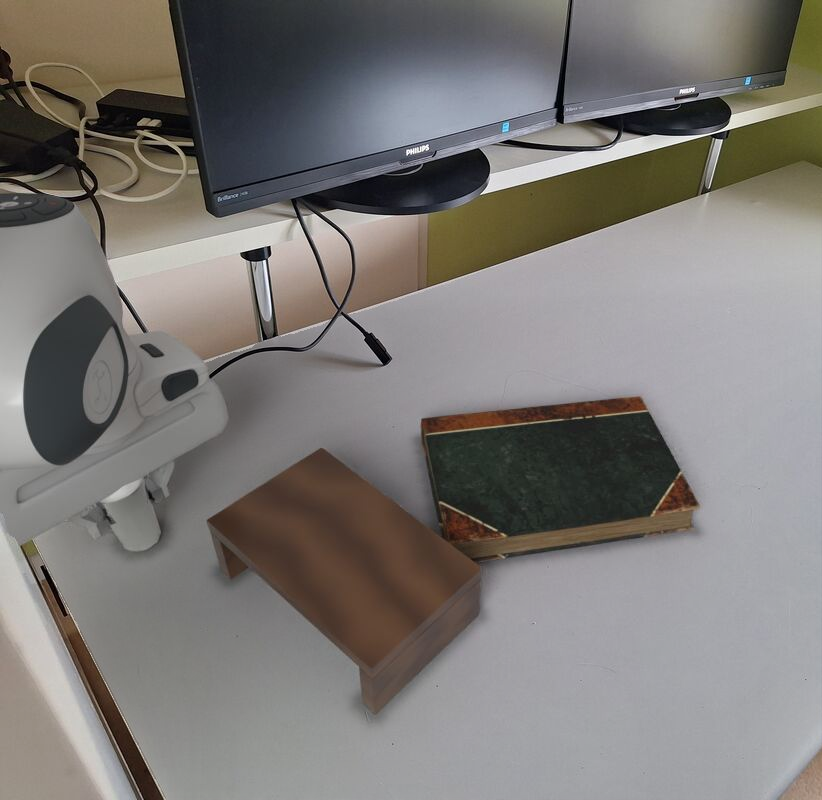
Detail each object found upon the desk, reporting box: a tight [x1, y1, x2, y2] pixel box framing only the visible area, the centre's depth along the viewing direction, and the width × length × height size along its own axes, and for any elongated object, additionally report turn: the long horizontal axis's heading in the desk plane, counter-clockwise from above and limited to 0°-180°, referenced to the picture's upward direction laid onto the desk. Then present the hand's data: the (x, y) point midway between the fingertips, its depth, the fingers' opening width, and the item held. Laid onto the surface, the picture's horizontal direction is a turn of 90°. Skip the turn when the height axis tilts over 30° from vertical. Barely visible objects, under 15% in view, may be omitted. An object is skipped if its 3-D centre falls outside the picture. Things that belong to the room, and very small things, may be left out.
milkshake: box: [93, 476, 162, 553], centre depth 66 cm, size 5×5×10 cm
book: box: [420, 395, 701, 563], centre depth 78 cm, size 17×4×25 cm
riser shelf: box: [206, 446, 483, 715], centre depth 65 cm, size 12×20×7 cm, turn 52°
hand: (129, 513), depth 67 cm, fingers closed on milkshake, 4 cm apart
